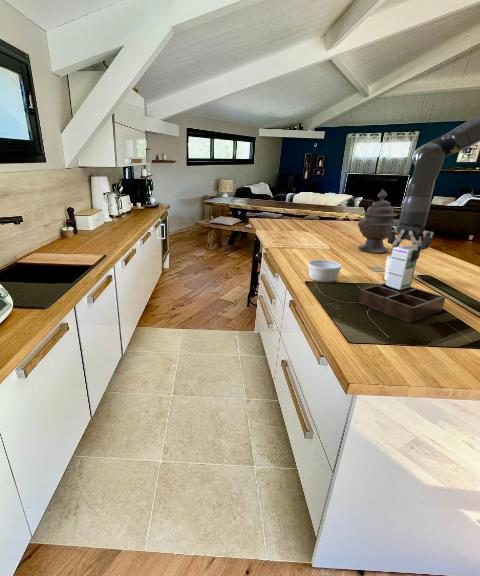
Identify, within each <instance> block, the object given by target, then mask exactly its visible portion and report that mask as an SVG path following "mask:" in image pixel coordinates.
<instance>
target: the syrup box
mask: <svg viewBox="0 0 480 576" xmlns="http://www.w3.org/2000/svg"><path fill="white" fill-rule="evenodd" d="M399 246H400V245H399ZM413 250H414V247H413V246H410V245H401V246H400V247H394V248H393V250H392V249H391V252H392V255H390V256H391V260H390V265H389V270H388V275H387V280H385V283H386V285H387V286H390V287H392V288H395V289H399V290H401V289H405V288H409V287H412V282H413V278H414V274H415V270H416V265H417V260H418V259H417V260H416V261H411V257H412V253H413Z"/></svg>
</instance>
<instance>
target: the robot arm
mask: <svg viewBox="0 0 480 576" xmlns="http://www.w3.org/2000/svg"><path fill="white" fill-rule="evenodd" d="M478 143H480V114H478V115H477V116H474V117H472V118H470V119H469V120H467V121H465V122H464V123H462V124H460V125H458V126H457V127H455V128H453V129H452V130H450V131H449V132H447V133H445V134H443V135H441V136H439V137H436V138H435V139H433V140H431V141H428V142H426V143H425V144H422V145H420V146H419V147H418V148H417V149H416V150H415V151H414V153H412V157H411V161H412V164H413V165H414V170H413V174H412V177H411V178H410V179H409V181H408V184H407V189H406V191H405V192H406V193H405V197H404V199H403V203H402V206H401V212H400V215H399V221H398V224H399V225H398V227H395V226H391V227H389V228H388V238H387V244H390V245H391V246H392V248H391V252H390V254H391V255H392V250H393V248H394V247H400V245H401V243H402V242H403V241H404V240H406V241H411V245H412V247H414V250H413V253H412V257H411V261H416V260H418V259H419V258H420V254H421V251H423V250H427V249H429V246H430V245H431V242H432V240H433V238H434V236H435V232H434V231H429V230H426V227H425V226H426V223H427V221H428V217H429V211H430V208H431V204H432V196H433V194H434V193H433V192H434V189H435V183H436V180H437V178H438V175H439V173H440V171H441V168H442V166H443V163H444V160H445V158H447V157H449V156H451V155H453V154H456V153H459V152H462V151H464V150H467V149H469V148H471V147H472V146H474V145H476V144H478ZM396 233H398V235H397V234H396ZM396 235H397V236H396ZM421 236H423V240H422V239H421ZM391 255H390V256H391ZM416 262H417V261H416Z"/></svg>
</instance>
